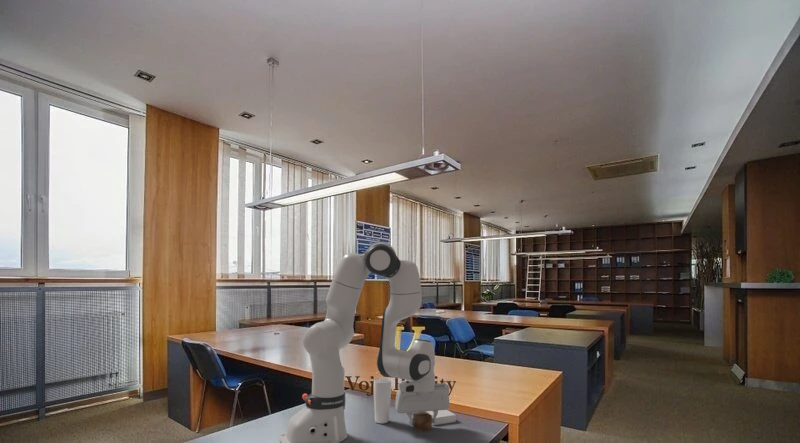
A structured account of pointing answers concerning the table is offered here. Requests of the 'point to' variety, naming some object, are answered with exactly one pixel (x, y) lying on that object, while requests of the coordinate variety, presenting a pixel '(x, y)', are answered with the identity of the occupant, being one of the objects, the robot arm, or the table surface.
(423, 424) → the walnut cube
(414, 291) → the robot arm
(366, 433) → the table surface
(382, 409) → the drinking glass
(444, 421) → the grey tile
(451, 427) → the table surface
